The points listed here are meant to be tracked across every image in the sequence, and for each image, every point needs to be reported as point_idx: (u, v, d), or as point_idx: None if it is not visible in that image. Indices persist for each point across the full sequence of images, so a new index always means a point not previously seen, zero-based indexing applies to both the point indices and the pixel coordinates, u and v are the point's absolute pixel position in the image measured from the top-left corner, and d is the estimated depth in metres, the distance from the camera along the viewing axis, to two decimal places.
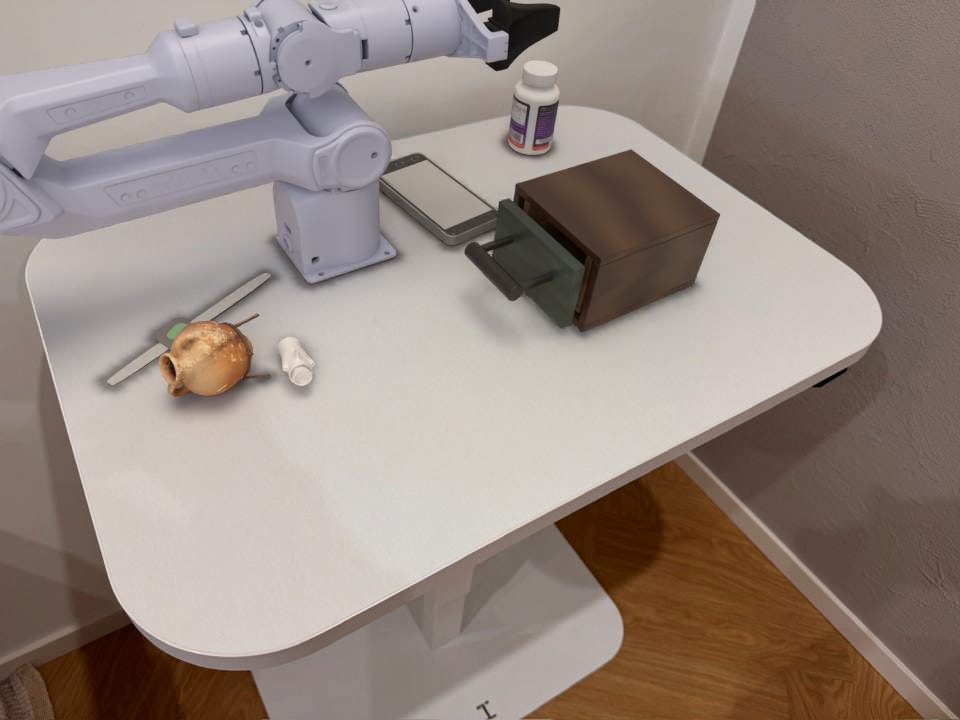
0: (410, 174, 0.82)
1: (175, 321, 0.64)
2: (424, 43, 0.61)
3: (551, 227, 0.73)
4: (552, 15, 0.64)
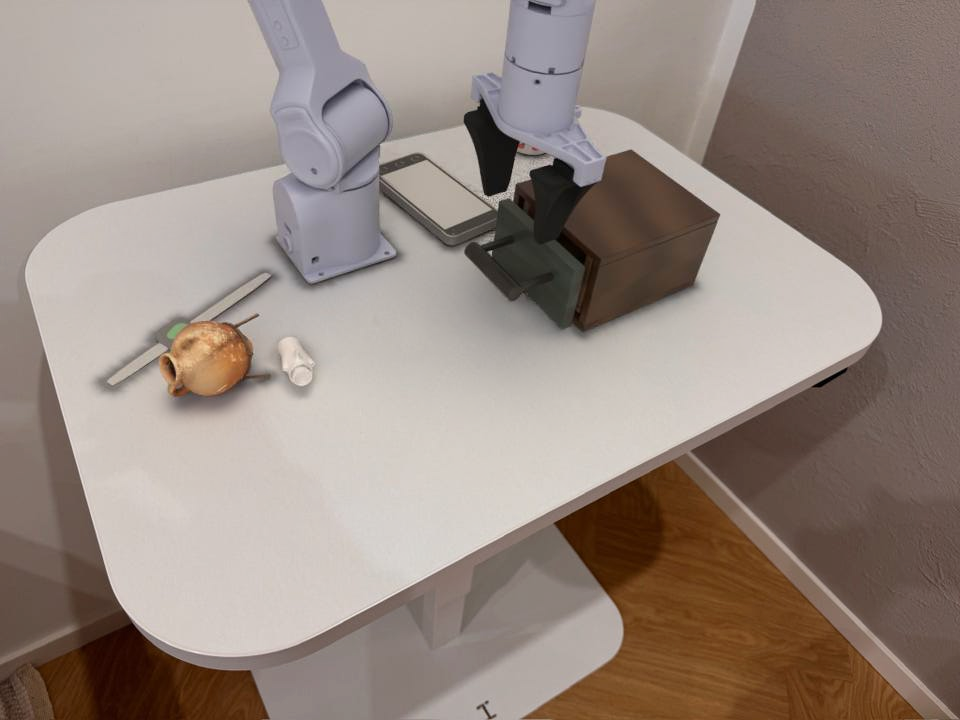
0: (410, 174, 0.82)
1: (175, 321, 0.64)
2: (559, 88, 0.52)
3: None
4: (556, 231, 0.60)
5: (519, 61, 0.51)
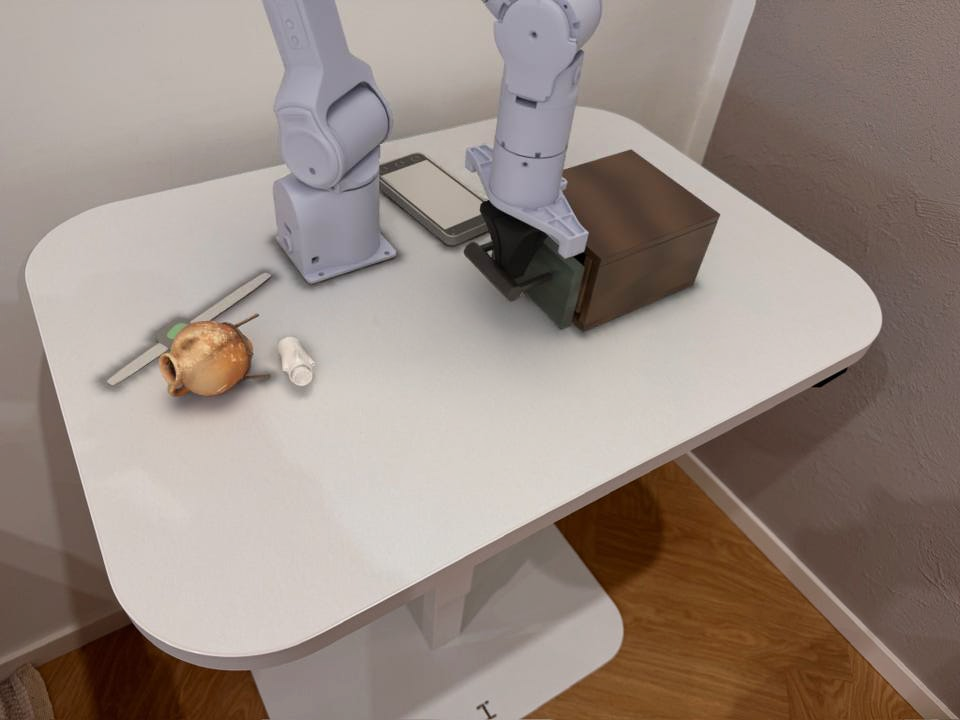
0: (410, 174, 0.82)
1: (175, 321, 0.64)
2: (545, 169, 0.57)
3: None
4: (521, 270, 0.67)
5: (508, 146, 0.56)
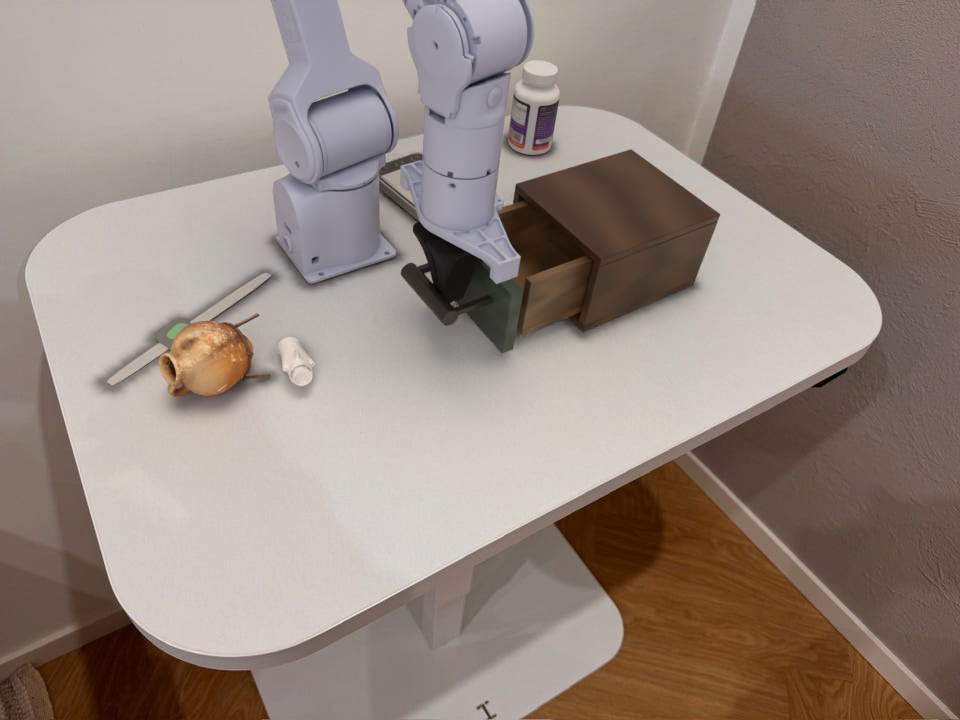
0: None
1: (175, 321, 0.64)
2: (474, 191, 0.54)
3: None
4: (460, 292, 0.64)
5: (426, 159, 0.54)
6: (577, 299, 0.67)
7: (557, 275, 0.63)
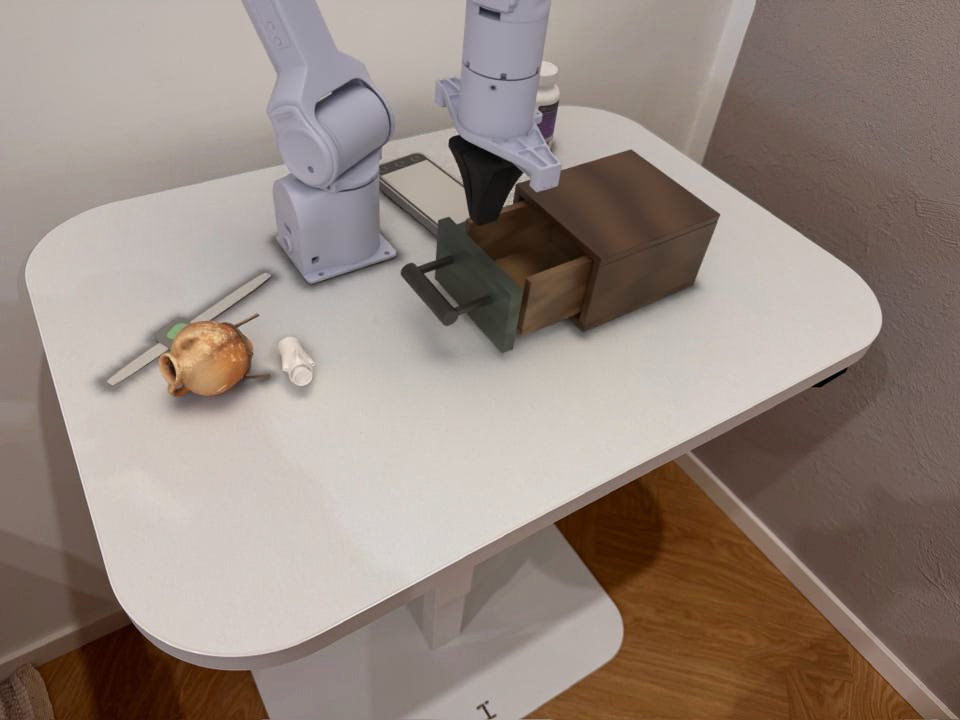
0: (410, 174, 0.82)
1: (175, 321, 0.64)
2: (515, 94, 0.52)
3: (496, 246, 0.70)
4: (494, 214, 0.62)
5: (472, 66, 0.52)
6: (577, 299, 0.67)
7: (557, 275, 0.63)
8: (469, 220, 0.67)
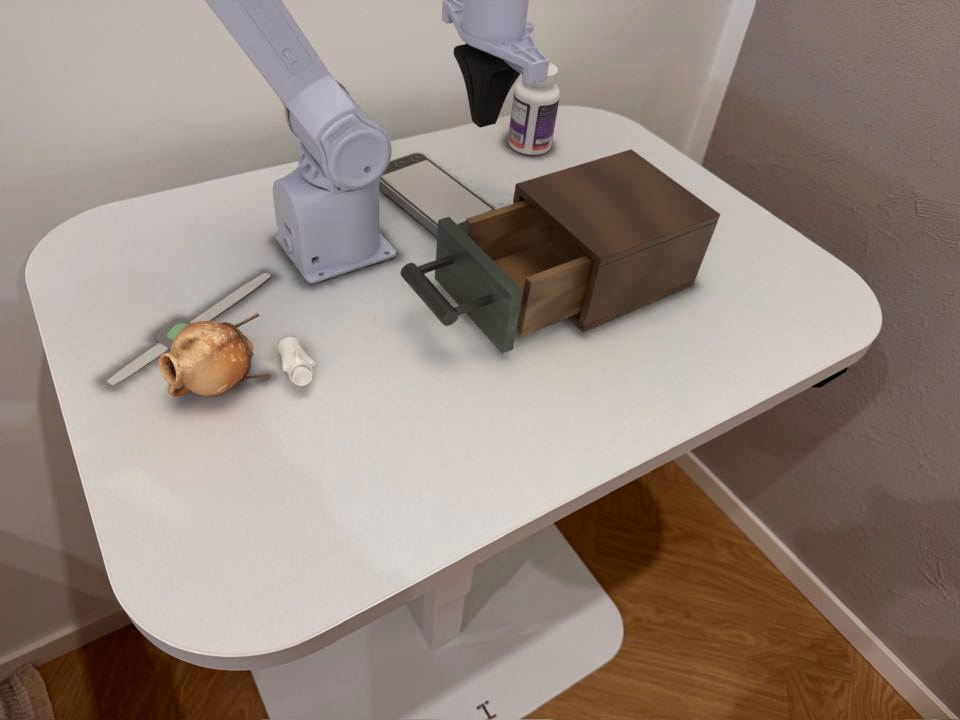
0: (410, 174, 0.82)
1: (175, 321, 0.64)
2: (509, 1, 0.62)
3: (496, 246, 0.70)
4: (493, 117, 0.72)
5: None
6: (577, 299, 0.67)
7: (557, 275, 0.63)
8: (469, 220, 0.67)
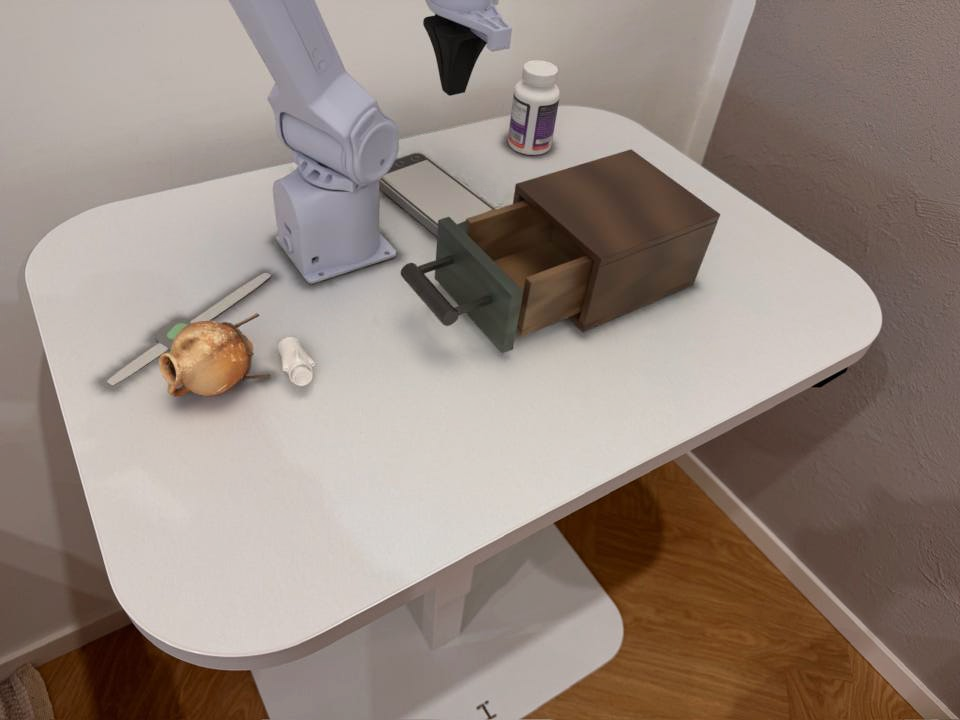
0: (410, 174, 0.82)
1: (175, 321, 0.64)
2: None
3: (496, 246, 0.70)
4: (462, 85, 0.76)
5: None
6: (577, 299, 0.67)
7: (557, 275, 0.63)
8: (469, 220, 0.67)
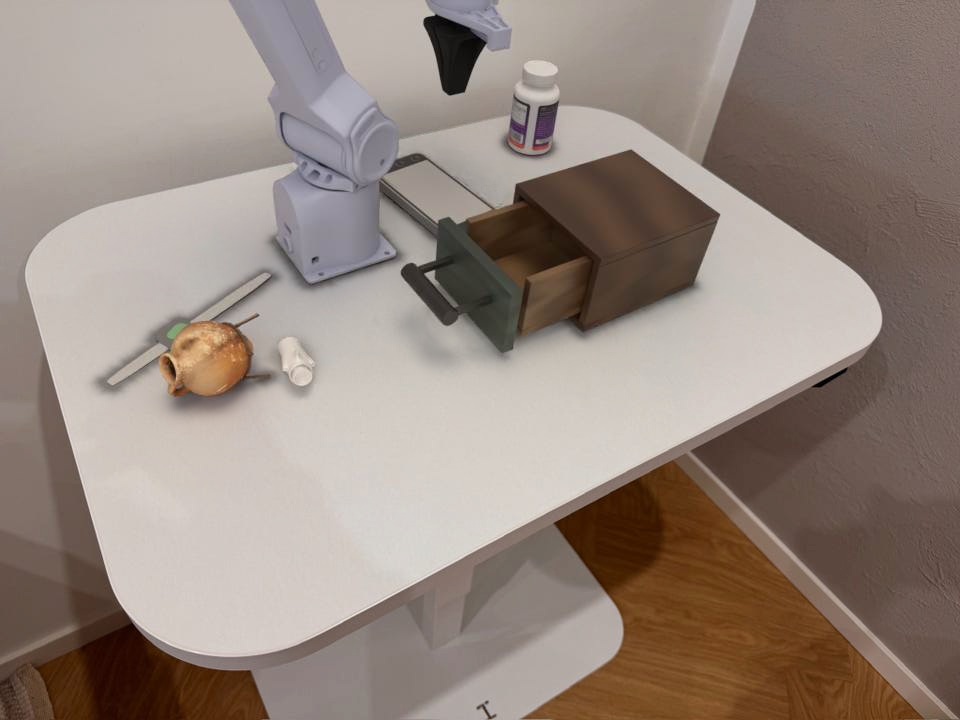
0: (410, 174, 0.82)
1: (175, 321, 0.64)
2: None
3: (496, 246, 0.70)
4: (462, 85, 0.76)
5: None
6: (577, 299, 0.67)
7: (557, 275, 0.63)
8: (469, 220, 0.67)
